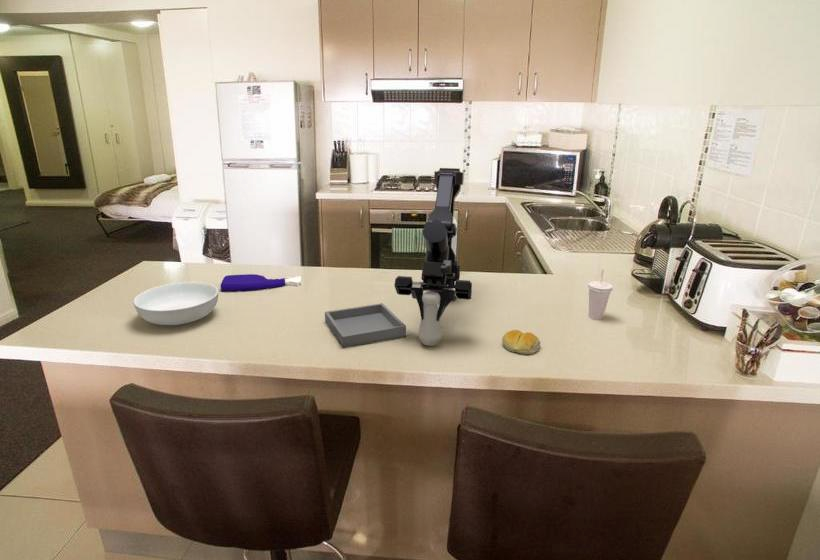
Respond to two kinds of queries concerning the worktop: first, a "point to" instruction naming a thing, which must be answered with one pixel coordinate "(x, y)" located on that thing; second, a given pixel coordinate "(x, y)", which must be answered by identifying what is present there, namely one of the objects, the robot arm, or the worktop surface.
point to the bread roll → (521, 342)
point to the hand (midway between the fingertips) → (430, 320)
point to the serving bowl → (176, 302)
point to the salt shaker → (430, 320)
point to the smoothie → (598, 298)
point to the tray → (364, 325)
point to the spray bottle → (255, 282)
